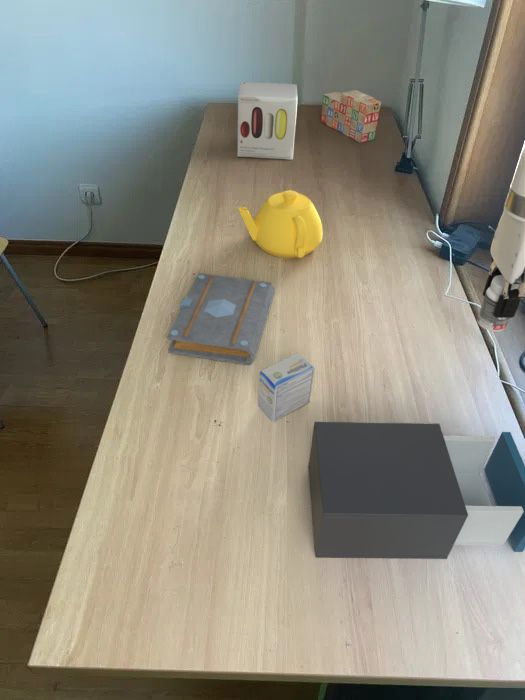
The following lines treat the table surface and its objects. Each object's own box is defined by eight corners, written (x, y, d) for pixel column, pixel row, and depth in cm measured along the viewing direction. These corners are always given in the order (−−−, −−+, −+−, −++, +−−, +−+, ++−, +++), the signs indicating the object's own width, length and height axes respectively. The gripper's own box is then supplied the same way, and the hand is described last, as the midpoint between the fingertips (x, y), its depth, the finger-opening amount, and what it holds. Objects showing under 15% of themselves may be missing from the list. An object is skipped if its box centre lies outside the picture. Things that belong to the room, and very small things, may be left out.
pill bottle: (496, 336, 92) (512, 294, 86) (471, 322, 94) (484, 281, 89) (511, 324, 94) (527, 282, 89) (486, 311, 97) (500, 270, 91)
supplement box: (236, 158, 170) (236, 95, 158) (239, 141, 180) (239, 80, 168) (293, 160, 170) (298, 98, 158) (293, 143, 180) (297, 83, 168)
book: (254, 367, 102) (254, 346, 98) (166, 354, 104) (164, 333, 100) (274, 299, 117) (275, 279, 114) (197, 289, 119) (196, 269, 116)
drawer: (529, 470, 85) (551, 432, 79) (565, 552, 75) (593, 516, 69) (383, 468, 85) (394, 430, 79) (399, 551, 75) (413, 514, 69)
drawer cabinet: (422, 468, 86) (439, 423, 79) (446, 559, 75) (468, 515, 68) (308, 467, 85) (314, 421, 78) (315, 557, 75) (323, 513, 68)
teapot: (308, 222, 142) (313, 173, 133) (334, 262, 128) (341, 211, 120) (231, 230, 138) (230, 181, 129) (249, 273, 124) (250, 221, 116)
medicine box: (294, 387, 98) (297, 350, 92) (310, 403, 95) (315, 366, 90) (257, 407, 94) (258, 369, 89) (273, 423, 92) (276, 386, 86)
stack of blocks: (320, 122, 194) (323, 84, 186) (334, 119, 197) (338, 81, 189) (360, 143, 181) (366, 103, 173) (375, 140, 184) (381, 100, 176)
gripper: (586, 232, 74) (539, 339, 86) (538, 177, 86) (503, 277, 98) (529, 232, 74) (490, 339, 85) (489, 177, 86) (460, 277, 98)
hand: (497, 305), depth 92 cm, fingers closed on pill bottle, 4 cm apart
